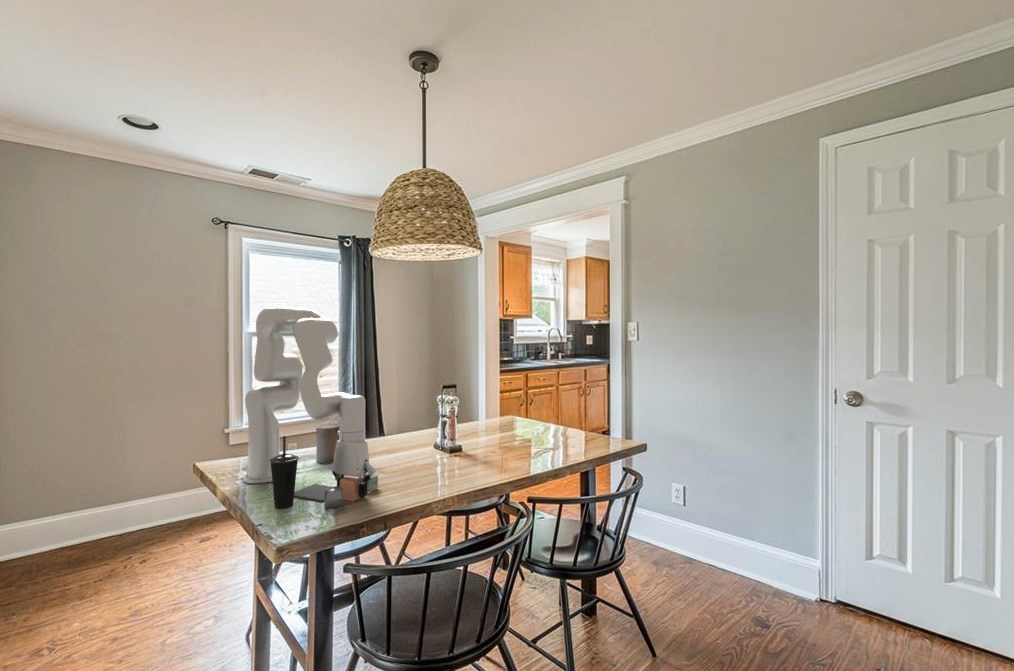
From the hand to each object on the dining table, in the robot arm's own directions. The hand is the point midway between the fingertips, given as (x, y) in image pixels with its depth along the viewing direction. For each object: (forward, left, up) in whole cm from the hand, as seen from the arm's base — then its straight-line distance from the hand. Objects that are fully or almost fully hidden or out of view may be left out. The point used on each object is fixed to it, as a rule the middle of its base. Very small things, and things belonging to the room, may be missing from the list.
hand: (352, 494), depth 147 cm
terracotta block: (0, 0, -1) cm, 1 cm away
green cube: (0, +8, -1) cm, 8 cm away
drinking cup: (-13, -13, -1) cm, 19 cm away
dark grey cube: (0, -8, -1) cm, 8 cm away
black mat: (-12, -1, -1) cm, 12 cm away
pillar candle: (-36, +31, -1) cm, 48 cm away
